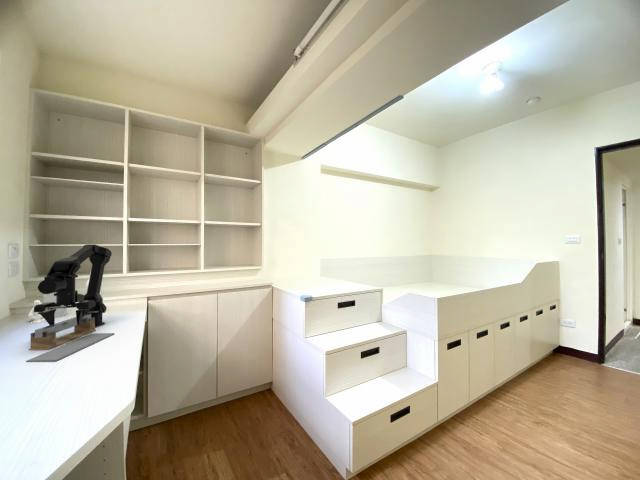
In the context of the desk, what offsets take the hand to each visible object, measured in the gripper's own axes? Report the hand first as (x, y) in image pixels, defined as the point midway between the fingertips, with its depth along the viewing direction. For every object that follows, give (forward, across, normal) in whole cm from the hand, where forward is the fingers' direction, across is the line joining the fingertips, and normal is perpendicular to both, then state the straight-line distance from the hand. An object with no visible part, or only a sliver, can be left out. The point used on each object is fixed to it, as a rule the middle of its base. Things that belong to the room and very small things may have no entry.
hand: (65, 325), depth 107 cm
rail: (+1, 0, 0) cm, 1 cm away
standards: (+6, 0, 0) cm, 6 cm away
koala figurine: (+6, +32, -33) cm, 46 cm away
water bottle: (+6, +14, -46) cm, 49 cm away
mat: (+6, -9, +10) cm, 15 cm away
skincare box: (+6, +30, -42) cm, 52 cm away
